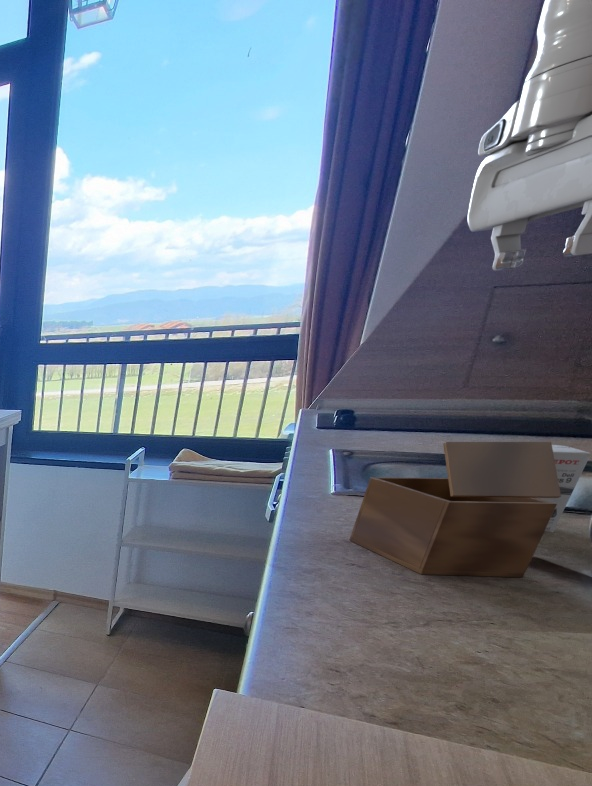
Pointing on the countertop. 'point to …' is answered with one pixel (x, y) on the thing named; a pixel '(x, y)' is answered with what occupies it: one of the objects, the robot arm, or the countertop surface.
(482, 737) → the countertop surface
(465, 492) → the flap
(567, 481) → the ink box
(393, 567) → the countertop surface
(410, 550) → the carton
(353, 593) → the countertop surface
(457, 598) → the countertop surface
